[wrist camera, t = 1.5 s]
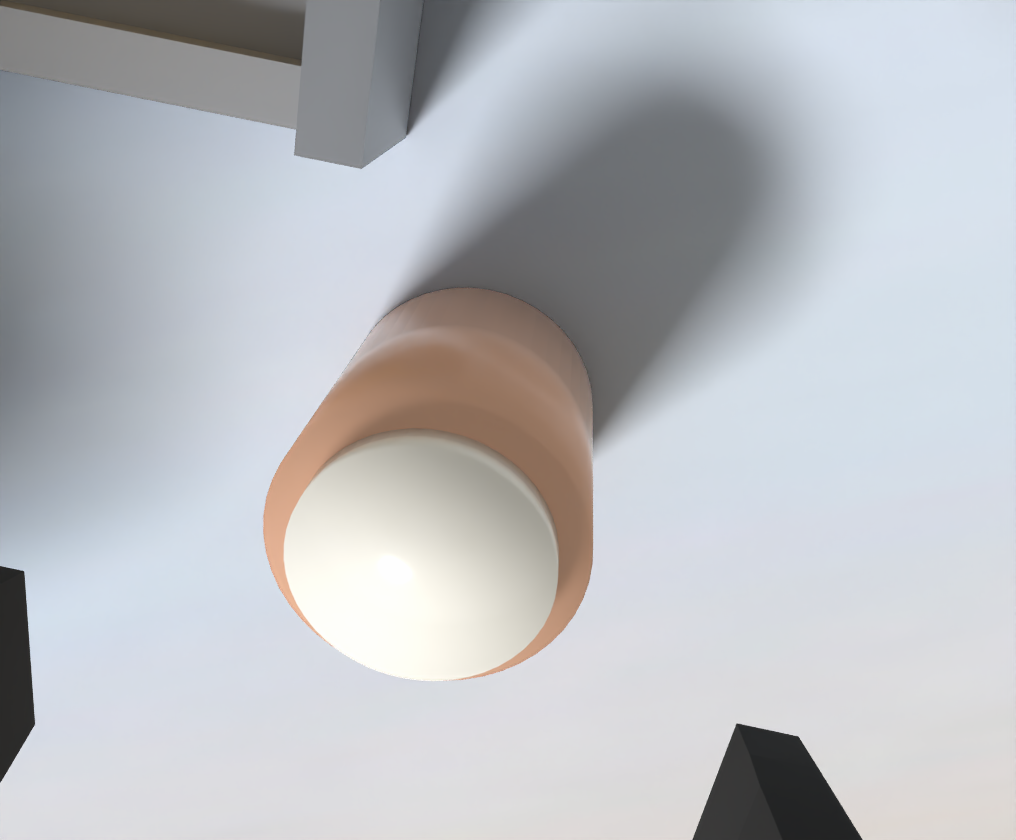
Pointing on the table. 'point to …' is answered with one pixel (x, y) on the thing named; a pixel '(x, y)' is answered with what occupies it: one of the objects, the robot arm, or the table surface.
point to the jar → (442, 491)
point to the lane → (236, 61)
